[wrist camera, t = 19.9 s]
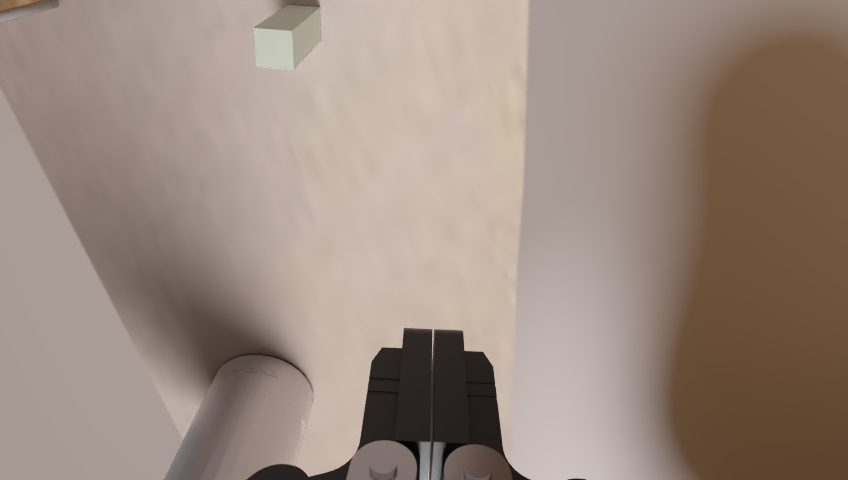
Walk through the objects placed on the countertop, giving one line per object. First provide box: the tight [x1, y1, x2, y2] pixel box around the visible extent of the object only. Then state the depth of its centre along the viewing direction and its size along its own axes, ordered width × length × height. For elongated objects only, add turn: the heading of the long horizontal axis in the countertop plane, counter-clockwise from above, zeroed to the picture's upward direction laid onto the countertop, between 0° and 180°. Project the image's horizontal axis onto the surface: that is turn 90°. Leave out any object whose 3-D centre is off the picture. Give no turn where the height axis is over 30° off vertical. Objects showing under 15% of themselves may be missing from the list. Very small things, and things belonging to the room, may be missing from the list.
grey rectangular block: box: [0, 0, 321, 70], centre depth 33 cm, size 2×17×8 cm, turn 86°
